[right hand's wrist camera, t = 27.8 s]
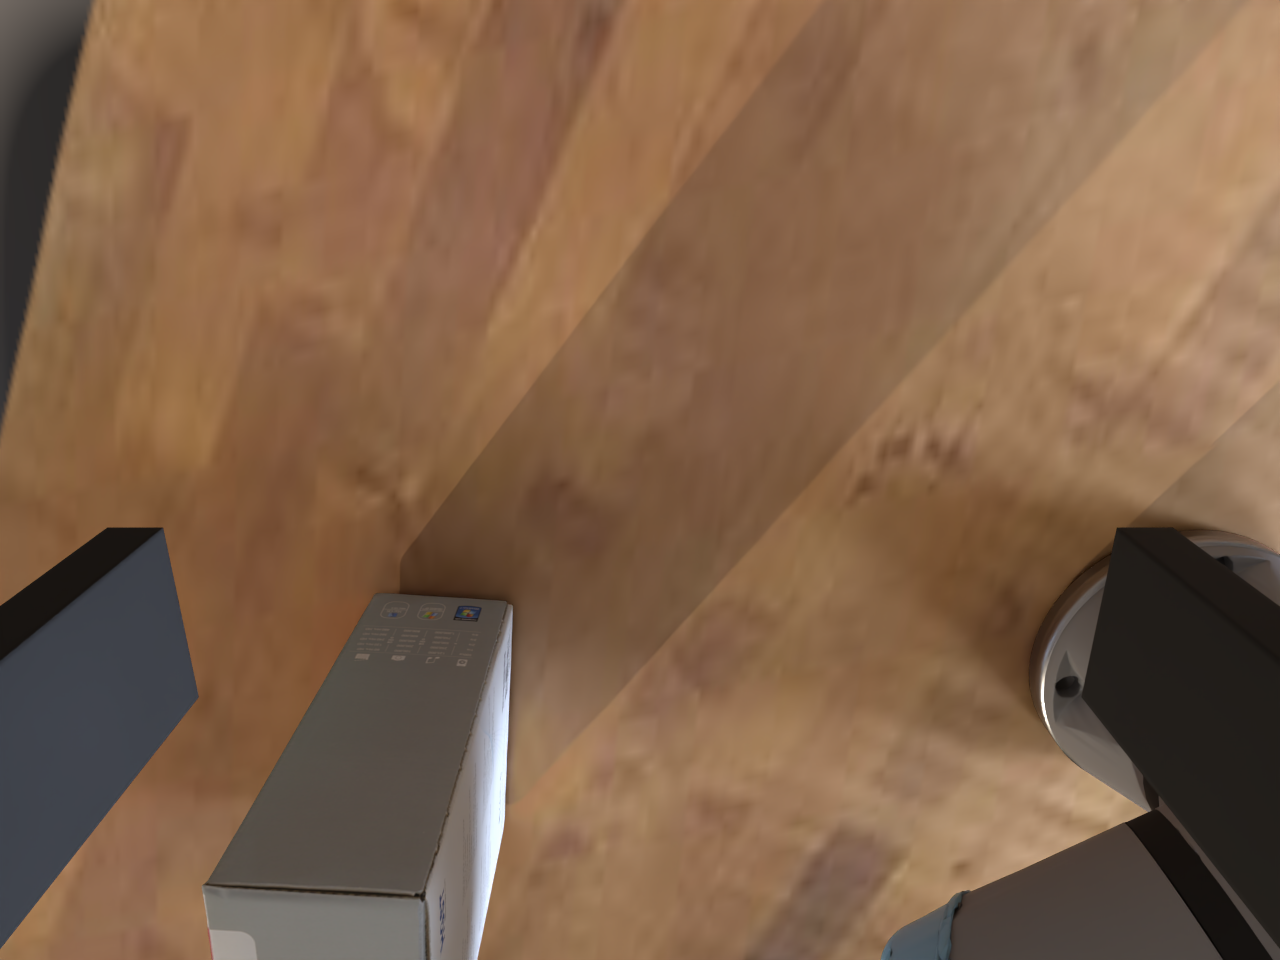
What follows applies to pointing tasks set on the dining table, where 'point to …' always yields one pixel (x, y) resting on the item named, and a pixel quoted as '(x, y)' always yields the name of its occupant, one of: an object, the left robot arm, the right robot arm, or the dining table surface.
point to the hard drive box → (380, 798)
